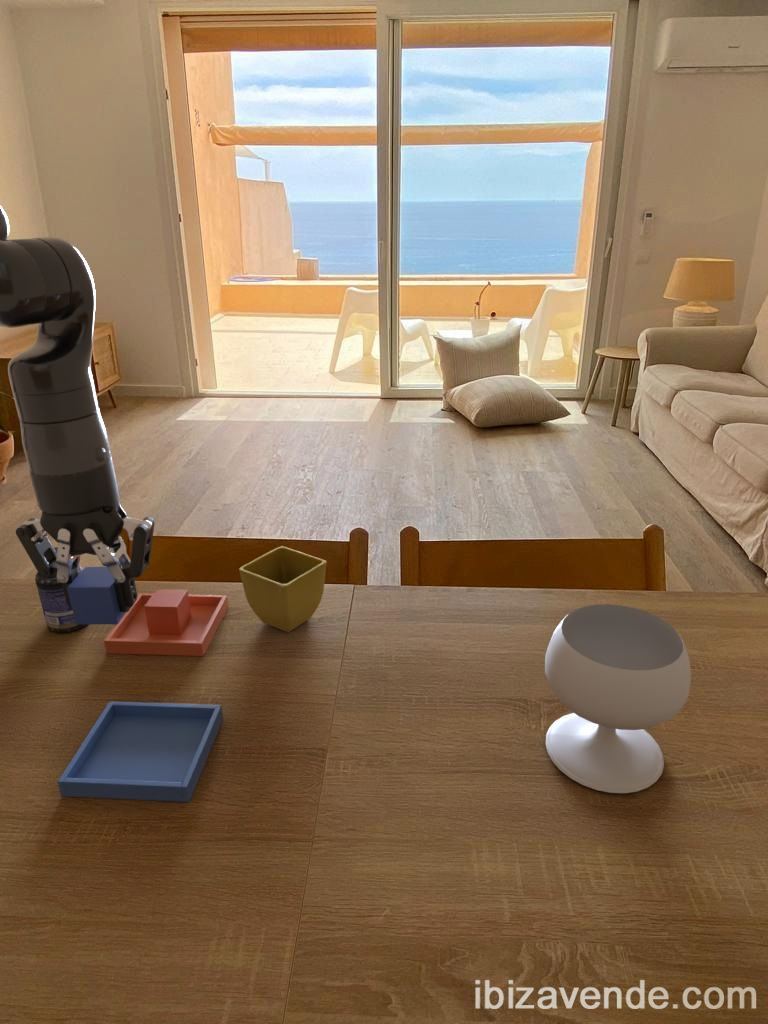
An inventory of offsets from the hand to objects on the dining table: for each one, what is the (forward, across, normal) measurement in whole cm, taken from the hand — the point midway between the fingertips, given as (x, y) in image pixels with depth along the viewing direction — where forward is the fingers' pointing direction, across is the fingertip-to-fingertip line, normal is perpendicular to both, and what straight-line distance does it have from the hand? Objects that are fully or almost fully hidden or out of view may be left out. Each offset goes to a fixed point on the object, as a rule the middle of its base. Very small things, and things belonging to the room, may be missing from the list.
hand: (103, 607), depth 75 cm
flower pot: (+15, -15, -21) cm, 30 cm away
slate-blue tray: (+15, -4, +6) cm, 17 cm away
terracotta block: (+14, +1, -18) cm, 23 cm away
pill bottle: (+15, +16, -19) cm, 29 cm away
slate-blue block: (+1, 0, 0) cm, 1 cm away
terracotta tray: (+15, +1, -18) cm, 23 cm away
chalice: (+16, -54, +4) cm, 56 cm away
